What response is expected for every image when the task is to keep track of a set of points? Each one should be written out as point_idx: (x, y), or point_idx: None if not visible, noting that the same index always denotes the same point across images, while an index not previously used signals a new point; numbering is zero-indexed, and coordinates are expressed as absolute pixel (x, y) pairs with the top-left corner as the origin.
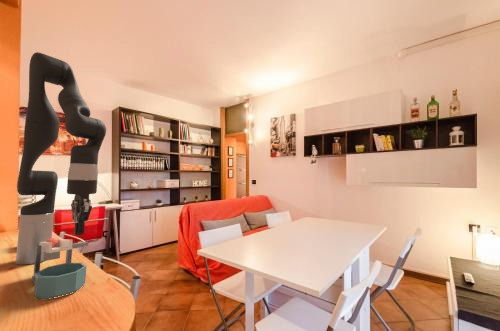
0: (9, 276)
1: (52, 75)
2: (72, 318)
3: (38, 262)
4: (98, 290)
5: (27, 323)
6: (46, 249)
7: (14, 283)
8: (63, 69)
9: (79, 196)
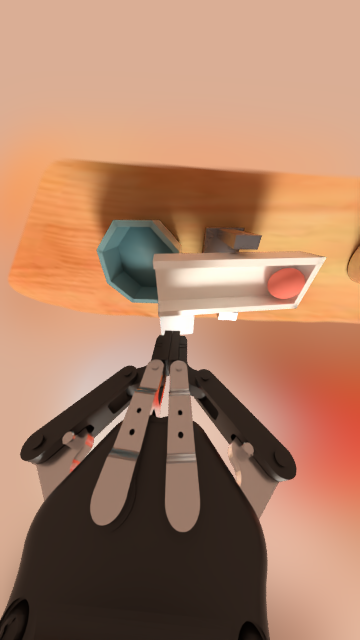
0: (322, 187)
1: None
2: (41, 248)
3: (223, 237)
4: (114, 294)
5: (46, 194)
6: (193, 255)
7: (256, 194)
8: None
9: (58, 599)
